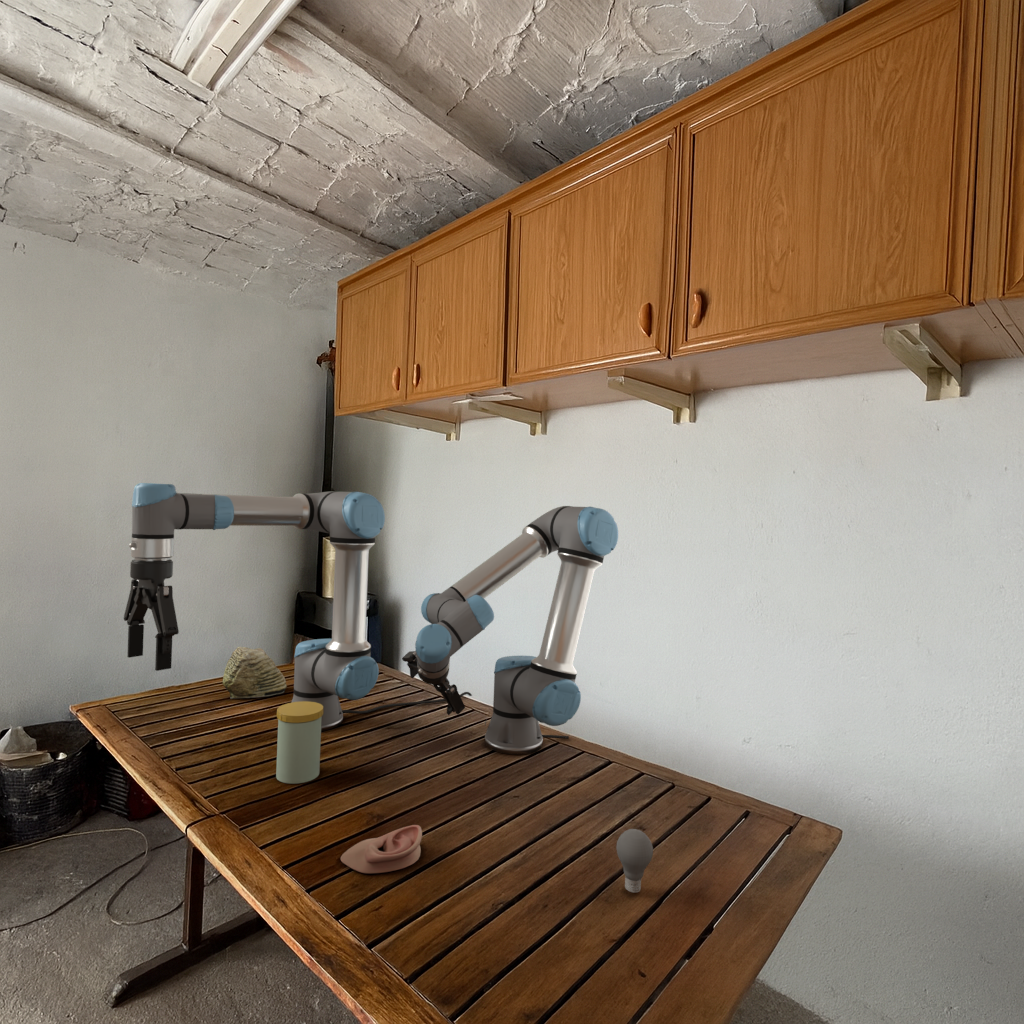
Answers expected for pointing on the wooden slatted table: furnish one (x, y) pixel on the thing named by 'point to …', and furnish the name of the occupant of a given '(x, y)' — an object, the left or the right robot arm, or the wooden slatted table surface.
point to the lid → (300, 712)
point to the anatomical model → (385, 851)
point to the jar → (298, 751)
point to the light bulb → (634, 857)
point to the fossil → (252, 674)
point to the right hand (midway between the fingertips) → (433, 692)
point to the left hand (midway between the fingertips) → (148, 662)
